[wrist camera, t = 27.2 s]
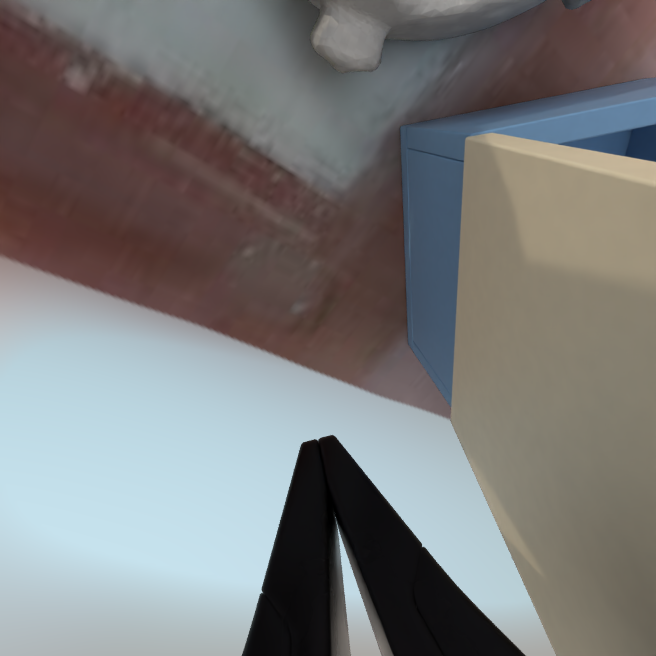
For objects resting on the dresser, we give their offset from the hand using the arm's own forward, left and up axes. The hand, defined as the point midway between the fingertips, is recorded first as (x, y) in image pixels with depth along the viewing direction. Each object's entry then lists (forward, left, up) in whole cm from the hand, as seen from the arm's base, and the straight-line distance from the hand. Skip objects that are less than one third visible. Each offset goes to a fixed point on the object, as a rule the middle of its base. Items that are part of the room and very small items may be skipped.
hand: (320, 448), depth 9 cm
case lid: (+6, 0, +2) cm, 6 cm away
